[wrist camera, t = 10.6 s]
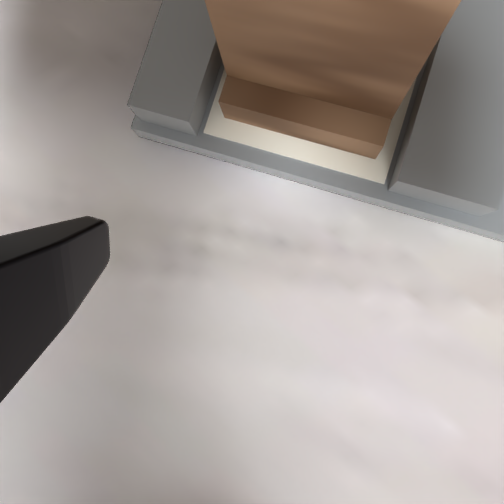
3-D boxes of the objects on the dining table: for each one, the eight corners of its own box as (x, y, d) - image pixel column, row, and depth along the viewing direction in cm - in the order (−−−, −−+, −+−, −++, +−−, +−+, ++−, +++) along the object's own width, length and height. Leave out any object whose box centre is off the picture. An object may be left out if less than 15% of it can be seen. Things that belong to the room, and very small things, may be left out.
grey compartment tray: (816, 48, 17) (958, -19, 13) (750, 313, 16) (881, 319, 13) (215, -89, 19) (198, -174, 16) (139, 136, 19) (103, 100, 15)
